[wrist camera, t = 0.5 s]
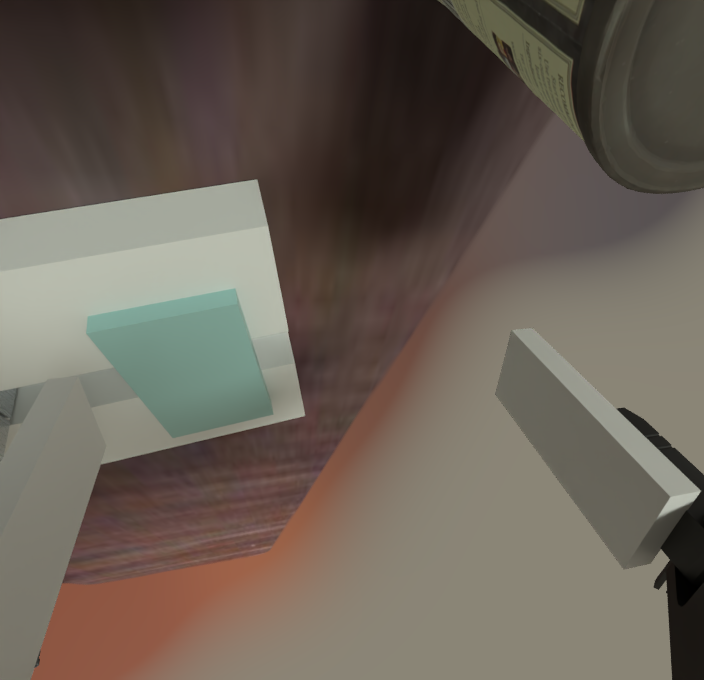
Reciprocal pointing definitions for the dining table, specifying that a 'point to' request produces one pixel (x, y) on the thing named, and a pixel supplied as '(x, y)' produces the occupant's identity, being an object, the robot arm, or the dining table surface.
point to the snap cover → (187, 360)
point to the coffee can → (610, 78)
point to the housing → (136, 299)
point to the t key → (5, 416)
